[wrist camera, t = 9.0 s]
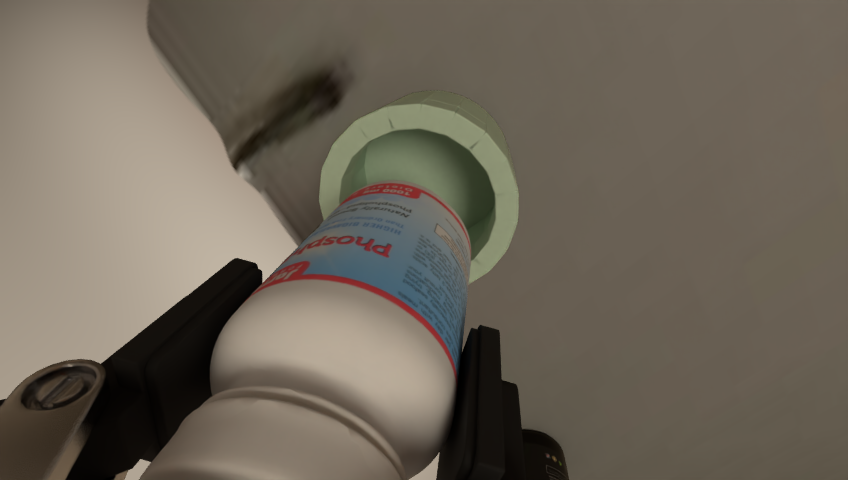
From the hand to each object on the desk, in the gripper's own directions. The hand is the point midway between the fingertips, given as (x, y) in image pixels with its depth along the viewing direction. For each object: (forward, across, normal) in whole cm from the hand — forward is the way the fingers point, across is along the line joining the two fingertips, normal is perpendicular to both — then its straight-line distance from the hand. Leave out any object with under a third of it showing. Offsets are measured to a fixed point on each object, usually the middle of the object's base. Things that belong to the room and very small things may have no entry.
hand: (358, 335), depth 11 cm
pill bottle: (+6, 0, 0) cm, 6 cm away
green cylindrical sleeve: (+17, 0, 0) cm, 17 cm away
